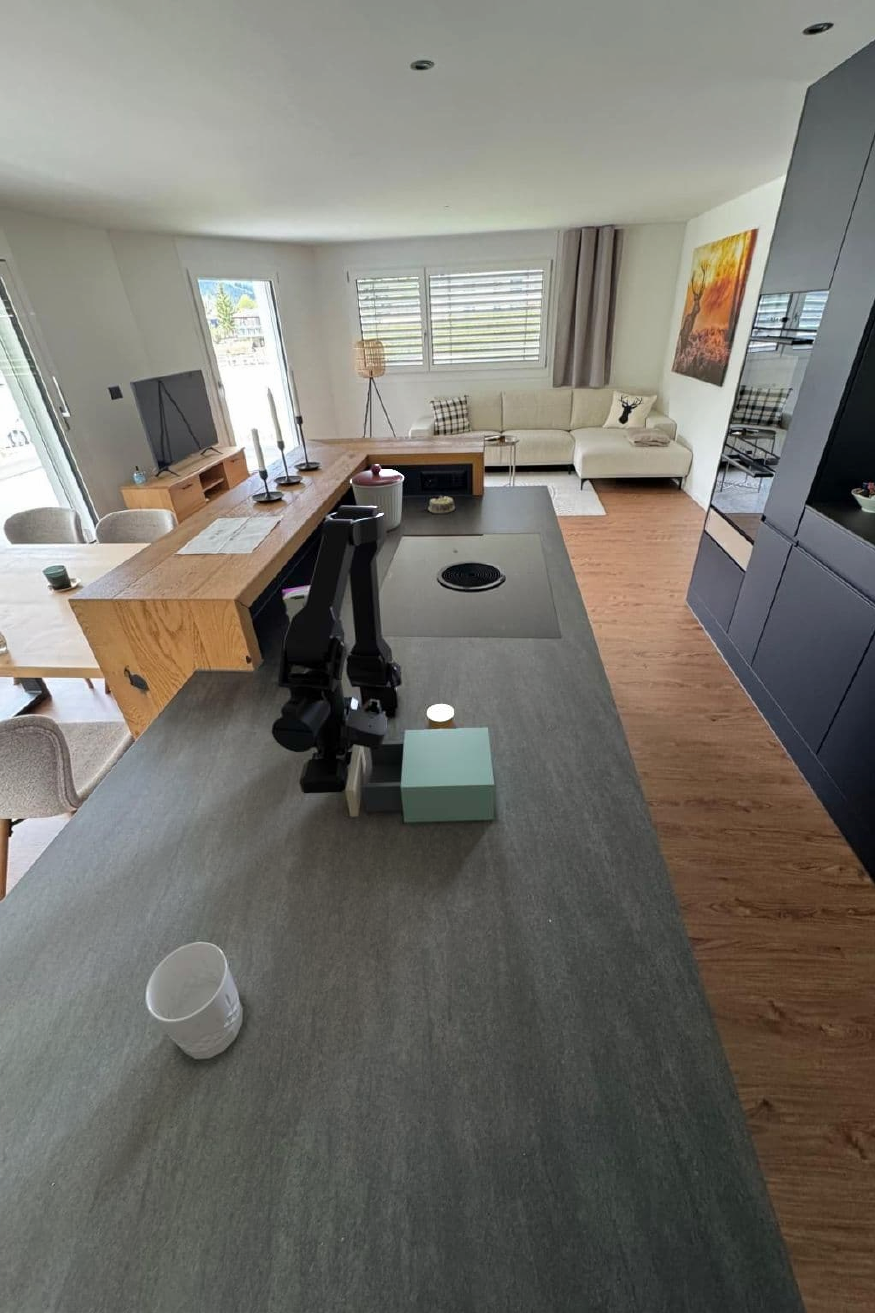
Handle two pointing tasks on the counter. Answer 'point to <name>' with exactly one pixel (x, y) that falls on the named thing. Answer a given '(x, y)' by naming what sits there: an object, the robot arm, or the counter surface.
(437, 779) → the pale green block
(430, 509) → the cake
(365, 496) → the canister
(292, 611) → the candy bar box
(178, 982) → the white cup
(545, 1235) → the counter surface
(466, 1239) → the counter surface
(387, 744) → the drawer
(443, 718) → the coffee pod
